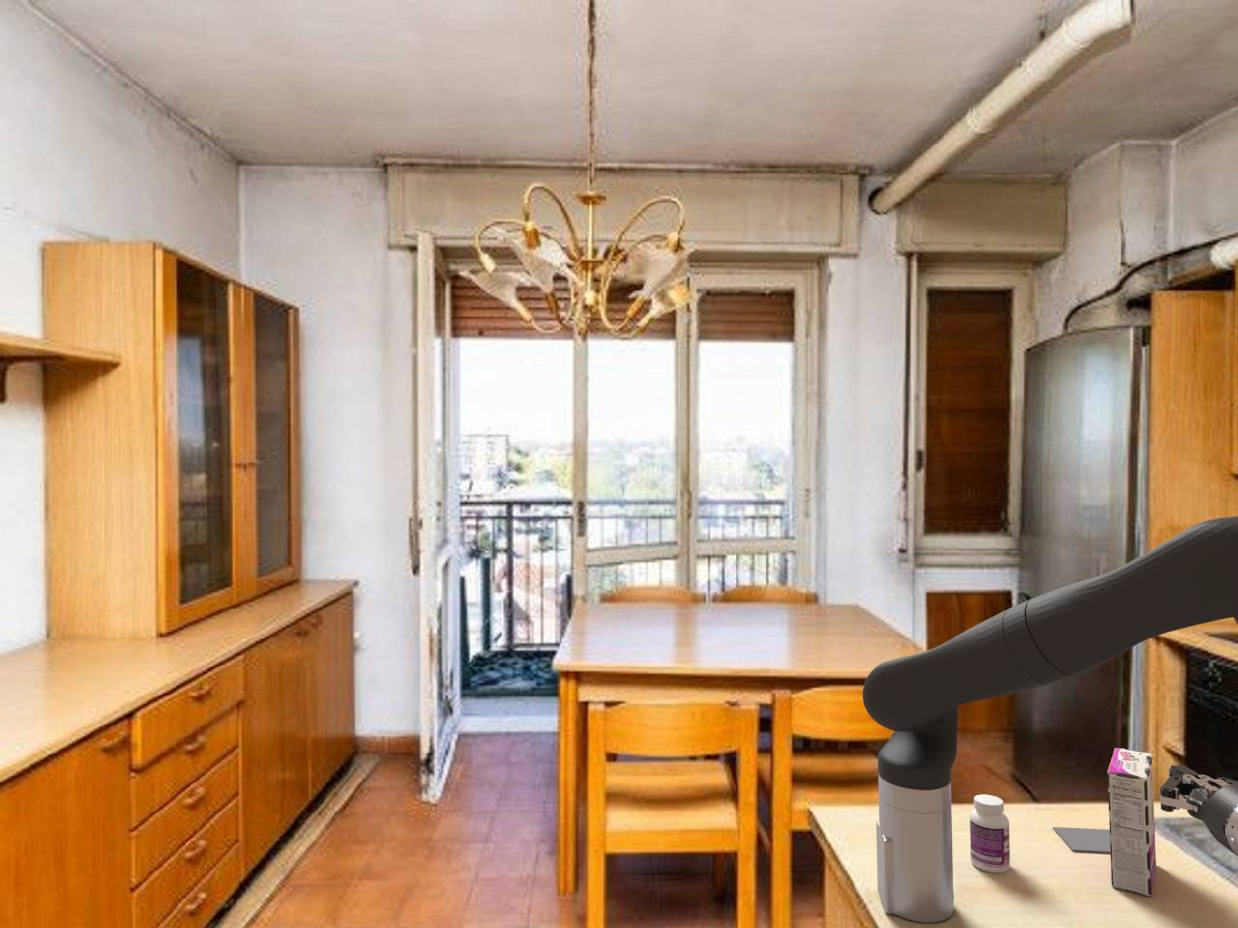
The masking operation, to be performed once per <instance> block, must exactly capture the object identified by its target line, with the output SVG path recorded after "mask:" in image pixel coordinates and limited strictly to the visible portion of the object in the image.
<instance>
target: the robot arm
mask: <svg viewBox="0 0 1238 928" xmlns="http://www.w3.org/2000/svg"><path fill="white" fill-rule="evenodd" d="M1231 618H1233V619H1234V620H1235V622H1236V624H1237V625H1238V515H1237V516H1235V515H1233V516H1227V517H1219V518H1214V519H1213V518H1211V519H1207V520H1204V521H1202V522H1198V523H1196V524H1193V525H1192V526H1190V527H1188V528H1187V529H1185V530H1183V531H1181V532H1180V533H1178V534H1176V535H1175V536H1173V537H1171V538H1170V539H1168V540H1166V541H1165V542H1163V543H1161V544H1160V545H1158V546H1156V547H1154V548H1153V549H1151V550H1149V551H1148V552H1146V553H1144V554H1142V555H1140V556H1138V557H1136V558H1135V559H1132V560H1131V561H1130V562H1127V563H1125V564H1123V565H1121V566H1119V567H1118V568H1115V569H1113V570H1111V571H1109V572H1106V573H1103V574H1101V575H1098V576H1094V577H1091V578H1087V579H1084V580H1081V581H1078V582H1073V583H1070V584H1068V585H1065V586H1061V587H1059V588H1056V589H1053V590H1051V591H1048V592H1046V593H1042V594H1039V595H1038V596H1035V597H1033V598H1031V599H1028V600H1026V601H1023V602H1021V603H1018V604H1016V605H1015V606H1012V607H1010V608H1008V609H1005V610H1003V611H1001V612H999V613H998V614H996V615H994V616H991V617H989V618H988V619H985V620H984V621H981V622H980V623H977V625H975V626H972V627H970V628H968V629H967V630H965V631H963V632H962V633H959V634H958V635H956V636H954V637H952V638H951V639H949V640H948V641H945V642H943V643H942V644H940V645H937V646H935V647H933V648H931V649H929V650H925V651H922V652H919V653H917V654H910V655H907V656H902V657H898V658H895V659H891V660H887V661H883V662H882V663H880V664H878V665H877V666H875V667H874V668H873V669H872V670H871V671H870V672H869V674H868V675H867V677H866V679H865V680H864V685H863V687H862V702H863V706H864V708H865V711H866V713H867V714H868V715H869V716H870V717H871V719H872V720H874V721H875V723H877V724H878V725H879V726H881V727H883V728H885V729H888V730H890V731H893V732H892V735H891V736H890V737H889V739H888V741H887V742H886V743H885V744H884V746H883V747H882V748H881V749H880V751H879V753H878V755H877V772H878V775H877V776H878V779H877V780H878V782H877V784H878V815H879V816H878V817H879V818H878V820H879V821H877V822H876V827H875V829H876V830H875V831H876V865H877V866H876V868H877V869H876V871H877V873H876V874H877V875H876V877H877V880H876V881H877V892H878V894H879V895H878V896H880V897H879V898H880V901H881V903H882V907H883V910H884V913H886V914H889V915H891V914H892V915H896V916H898V917H901V918H903V919H906V920H910V921H914V922H920V923H937V922H938V923H939V922H943V921H945V920H947V919H949V918H950V917H952V915H953V914H954V906H955V905H954V898H955V896H954V895H955V894H954V866H953V865H954V863H953V862H954V861H953V856H954V855H953V821H952V819H953V818H952V815H953V813H952V812H953V811H952V769H953V766H954V764H955V760H956V758H957V752H958V730H959V729H958V728H959V727H958V726H959V725H958V724H959V707H960V706H963V705H966V704H969V703H974V702H979V701H984V700H988V699H993V698H999V697H1003V696H1007V695H1011V694H1016V693H1021V692H1025V691H1029V690H1032V689H1037V688H1040V687H1044V686H1049V685H1052V684H1054V683H1057V682H1060V681H1063V680H1065V679H1069V678H1071V677H1074V676H1077V675H1080V674H1083V673H1085V672H1087V671H1090V670H1092V669H1094V668H1097V667H1099V666H1102V665H1103V664H1106V663H1107V662H1109V661H1111V660H1113V659H1115V658H1116V657H1118V656H1120V655H1122V654H1123V653H1125V652H1126V651H1128V650H1131V648H1134V647H1135V646H1137V645H1139V644H1140V643H1143V642H1144V641H1147V640H1149V639H1152V638H1156V637H1158V636H1161V635H1165V634H1167V633H1171V632H1175V631H1179V630H1183V629H1187V628H1191V627H1194V626H1198V625H1203V624H1207V623H1212V622H1217V621H1221V620H1225V619H1231ZM1168 775H1169V776H1168V778H1167V779H1166V780H1165V781H1164V783H1163V784H1162V785H1161V787H1159V797H1160V800H1159V801H1160V810H1161V811H1163V812H1166V813H1172V812H1174V811H1175V810H1176V811H1180V809H1182V810H1186V812H1187V814H1189V816H1191V817H1193V818H1194V819H1197V820H1200V821H1202V822H1203V823H1204V824H1205V827H1206V828H1207V830H1208V832H1209V833H1210V835H1211V836H1212V837H1213V839H1215V840H1216V841H1217V842H1218V843H1220V844H1221V845H1222V846H1223V847H1224V848H1226V849H1227V850H1229V851H1230V852H1231V853H1232V854H1234V855H1235V856H1236V857H1238V780H1234V779H1230V778H1226V777H1224V776H1223V777H1222V776H1221V777H1216V779H1213V778H1212V777H1210V776H1208V775H1205V774H1199V773H1198V772H1196V771H1195V770H1192V769H1191V768H1189V767H1188V766H1186V765H1184V764H1183V765H1179V764H1177V765H1176V764H1172V765H1170V768H1168ZM1184 797H1185V798H1184Z"/></svg>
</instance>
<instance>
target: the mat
mask: <svg viewBox="0 0 1238 928" xmlns="http://www.w3.org/2000/svg"><path fill="white" fill-rule="evenodd" d="M1052 829H1053V831H1054V830H1055V831H1056V832H1057V833H1058V834H1057V833H1056V832H1055V831H1054V832H1055V833H1056V834H1057V836H1059V838H1060V837H1061V838H1062V839H1061V838H1060V839H1061V840H1062V841H1063V842H1064V843H1065V845H1066V846H1068V848H1069V849H1070V850H1071V852H1073V853H1074V852H1075V853H1095V854H1111V850H1110V829H1103V828H1085V827H1084V828H1083V827H1081V828H1080V827H1064V826H1063V827H1062V826H1061V827H1059V826H1053V827H1052Z"/></svg>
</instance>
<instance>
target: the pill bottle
mask: <svg viewBox="0 0 1238 928" xmlns="http://www.w3.org/2000/svg"><path fill="white" fill-rule="evenodd" d="M1004 804H1005V803H1004V800H1003V799H1001V798H1000V797H999V796H995V795H990V794H982V793H981V794H977V795H975V796H974V798H973V806H974V808H973V810H971V811H970V814H969V844H970V846H969V849H970V850H969V851H970V854H969V855H970V861H971V864H973V866H974V867H976V868H977V869H979V870H982V871H984V872H987V873H993V874H999V873H1005V872H1007V871H1008V870H1009V869H1010V868H1011V867H1010V866H1011V860H1010V859H1011V853H1010V850H1011V849H1010V848H1011V847H1010V846H1011V845H1010V821H1009V820H1010V819H1009V818H1008V817H1007V815H1006V814H1005V813H1004V810H1005V807H1004V806H1005V805H1004Z"/></svg>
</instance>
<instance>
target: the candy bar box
mask: <svg viewBox="0 0 1238 928" xmlns="http://www.w3.org/2000/svg"><path fill="white" fill-rule="evenodd" d="M1110 760H1111V761H1110V763H1109V765H1108V769H1107V772H1106V773H1107V791H1108V792H1107V797H1108V821H1109V830H1110V850H1111V853H1110V870H1111V871H1110V874H1111V881H1110V882H1111V887H1112V888H1114V889H1117V890H1120V891H1123V892H1127V893H1128V892H1129V893H1132V894H1136V895H1141V896H1144V897H1149V898H1152V894H1153V889H1154V880H1155V875H1156V866H1157V859H1156V858H1157V856H1156V855H1157V854H1156V834H1155V832H1156V830H1155V829H1156V828H1155V810H1154V809H1155V806H1154V805H1155V804H1154V801H1155V800H1154V796H1155V795H1154V780H1153V779H1154V777H1153V776H1154V773H1153V754H1152V753H1149V752H1144V751H1138V750H1133V749H1132V750H1131V749H1127V748H1121V747H1119V748H1118V747H1114V750H1113V753H1112V757H1111V759H1110Z"/></svg>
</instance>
